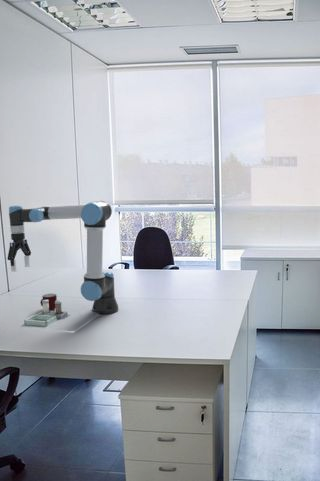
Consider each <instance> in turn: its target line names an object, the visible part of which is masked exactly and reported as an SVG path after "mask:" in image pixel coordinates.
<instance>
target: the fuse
mask: <svg viewBox="0 0 320 481" xmlns="http://www.w3.org/2000/svg"><path fill="white" fill-rule="evenodd" d="M41 300H42V299H41ZM42 303H43V306H42V311H43V314H49V300H42Z"/></svg>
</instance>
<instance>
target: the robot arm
mask: <svg viewBox="0 0 320 481" xmlns="http://www.w3.org/2000/svg"><path fill="white" fill-rule="evenodd" d="M112 210H113V209H112V207H111V205H110V203H108V202H107V201H104V200H98V201H91V202H88V203H86V204H78V205H61V206H60V205H59V206H41V207H36V208H35V207H34V208H23V206H22V205H11V206H8V216H9V217H8V218H9V225H10V226H9V227H10V237H11V238H10V239H11V240H12V241H13V242H9V250H8V254H7V258H6V259H7V261H10V269H11V270H10V271H11V272H14V273H15V272H17V262H16V259H15V258H16V256H17V253H18V251H19V250H21V251H22V254H24V256H23V257H24V258H23V259H24V267H25V268H30V266H31V265H30V256H31V254H32V251H31V249H30V246H29V244H28V240H27V239H26V237H25V236H26V235H25V223H40V222H42V221H46V220H47V221H50V220H70V219H72V220H74V219H81V220H82V222H83V227H84V229H85V230H86V272H85V274H84V275H83V283H82V284H81V285H80V293H81V296H82V297H83V298H84V299H85V300H87V301H90V302H93V304H92V312H93V313H98V314H99V315H107V314H113V313H116V312H118V311H119V305H118V302H117V300H116V296H115V293H116V292H115V277H114V276H115V275H114V273H113V272H111V271H103V253H104V251H103V247H104V246H103V245H104V244H103V243H104V242H103V236H104V234H103V233H104V229H105V228H106V226H107V224H106V222H107V220H109V219H110V218H111V216H112V213H113V211H112Z"/></svg>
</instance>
